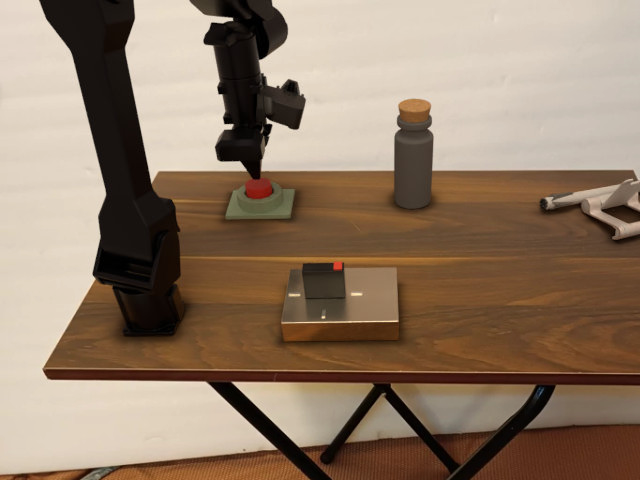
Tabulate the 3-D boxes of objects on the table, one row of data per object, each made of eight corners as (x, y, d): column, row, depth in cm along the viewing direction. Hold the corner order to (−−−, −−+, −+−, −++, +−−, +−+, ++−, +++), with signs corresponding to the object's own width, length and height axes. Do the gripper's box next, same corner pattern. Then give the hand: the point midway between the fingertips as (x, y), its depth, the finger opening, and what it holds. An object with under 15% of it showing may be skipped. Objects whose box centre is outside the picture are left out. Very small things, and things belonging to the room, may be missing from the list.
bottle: (387, 196, 101) (386, 102, 91) (418, 187, 103) (421, 93, 93) (405, 213, 98) (407, 116, 87) (437, 203, 100) (443, 107, 89)
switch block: (225, 219, 97) (222, 205, 96) (234, 193, 103) (231, 179, 101) (290, 218, 97) (288, 204, 96) (295, 192, 103) (293, 178, 101)
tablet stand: (672, 226, 91) (634, 232, 99) (664, 171, 90) (627, 181, 98) (621, 239, 89) (587, 244, 97) (613, 182, 88) (579, 192, 96)
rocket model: (547, 209, 95) (712, 179, 102) (543, 193, 95) (710, 164, 101) (539, 213, 97) (701, 183, 104) (536, 197, 97) (699, 169, 104)
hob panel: (284, 341, 77) (280, 321, 75) (292, 287, 85) (289, 267, 83) (398, 340, 77) (398, 320, 75) (396, 285, 85) (396, 266, 82)
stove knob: (305, 298, 78) (301, 270, 75) (306, 289, 79) (302, 261, 76) (345, 297, 78) (343, 269, 75) (345, 288, 79) (343, 260, 76)
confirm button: (244, 200, 97) (243, 190, 96) (248, 187, 100) (246, 177, 99) (270, 200, 97) (269, 189, 96) (273, 187, 100) (272, 177, 99)
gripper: (292, 97, 79) (304, 209, 90) (304, 47, 92) (313, 150, 103) (203, 99, 79) (226, 210, 90) (228, 49, 93) (246, 151, 104)
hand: (257, 178), depth 97 cm, fingers closed
